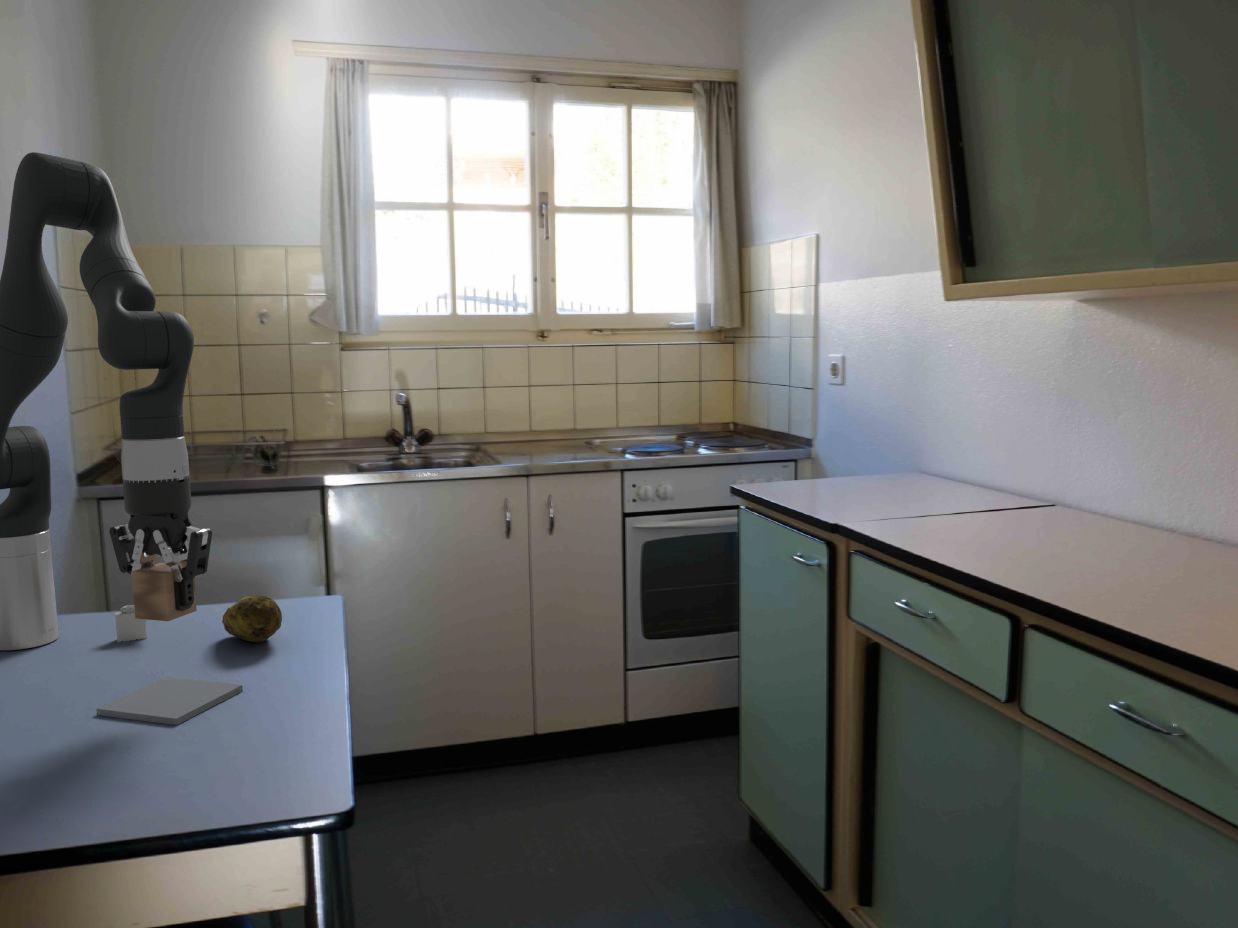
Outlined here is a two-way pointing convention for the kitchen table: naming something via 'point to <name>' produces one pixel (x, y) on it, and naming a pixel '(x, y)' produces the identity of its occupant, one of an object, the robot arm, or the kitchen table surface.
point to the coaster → (170, 700)
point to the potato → (253, 618)
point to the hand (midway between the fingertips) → (165, 607)
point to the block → (157, 594)
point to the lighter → (129, 625)
